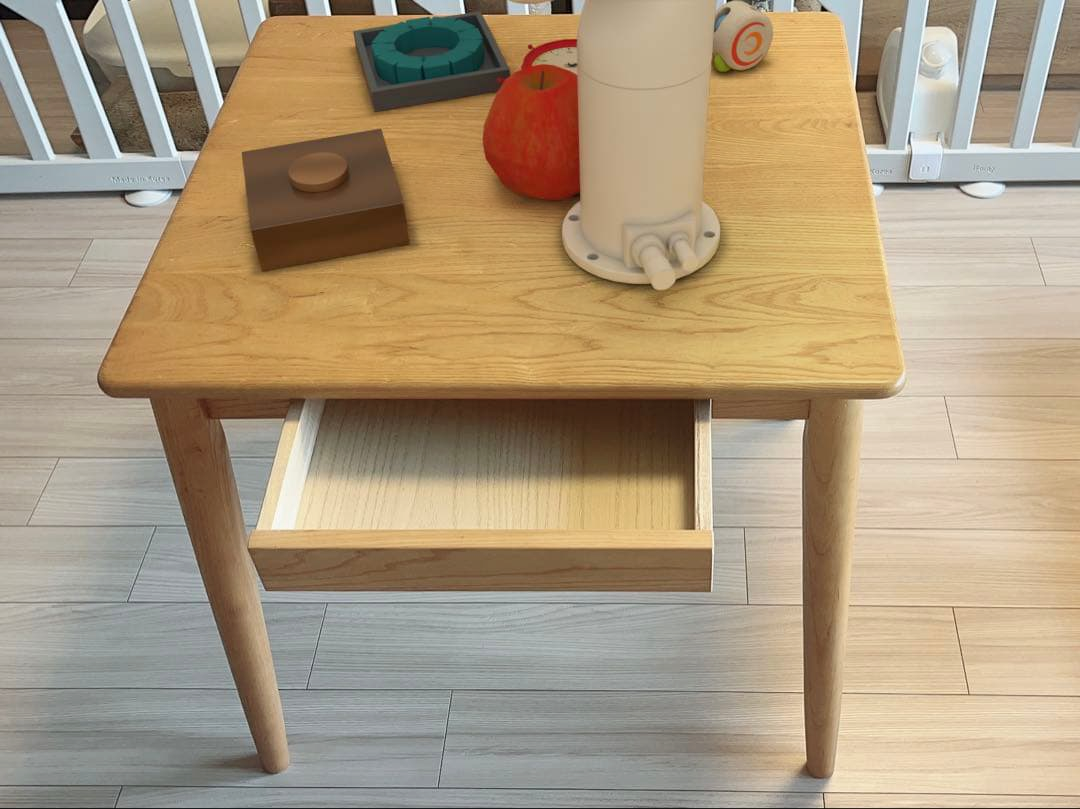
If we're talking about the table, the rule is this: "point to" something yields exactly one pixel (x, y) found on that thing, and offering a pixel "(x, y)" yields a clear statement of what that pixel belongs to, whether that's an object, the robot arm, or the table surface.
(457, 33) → the ring
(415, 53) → the tray
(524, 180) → the apple
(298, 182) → the platform
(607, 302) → the table surface
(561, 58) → the alarm clock
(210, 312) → the table surface
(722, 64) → the roller toy
